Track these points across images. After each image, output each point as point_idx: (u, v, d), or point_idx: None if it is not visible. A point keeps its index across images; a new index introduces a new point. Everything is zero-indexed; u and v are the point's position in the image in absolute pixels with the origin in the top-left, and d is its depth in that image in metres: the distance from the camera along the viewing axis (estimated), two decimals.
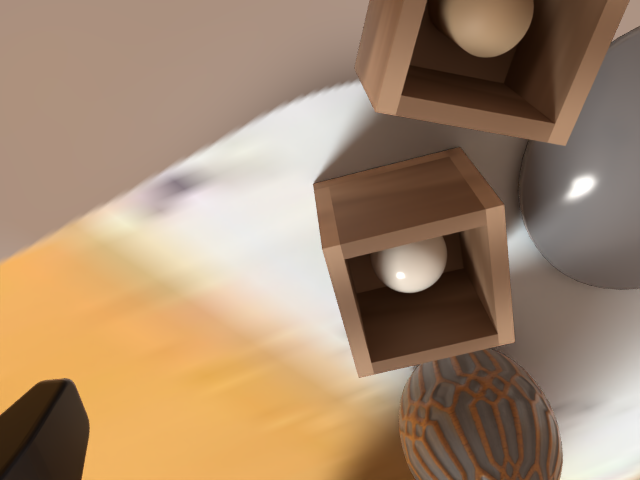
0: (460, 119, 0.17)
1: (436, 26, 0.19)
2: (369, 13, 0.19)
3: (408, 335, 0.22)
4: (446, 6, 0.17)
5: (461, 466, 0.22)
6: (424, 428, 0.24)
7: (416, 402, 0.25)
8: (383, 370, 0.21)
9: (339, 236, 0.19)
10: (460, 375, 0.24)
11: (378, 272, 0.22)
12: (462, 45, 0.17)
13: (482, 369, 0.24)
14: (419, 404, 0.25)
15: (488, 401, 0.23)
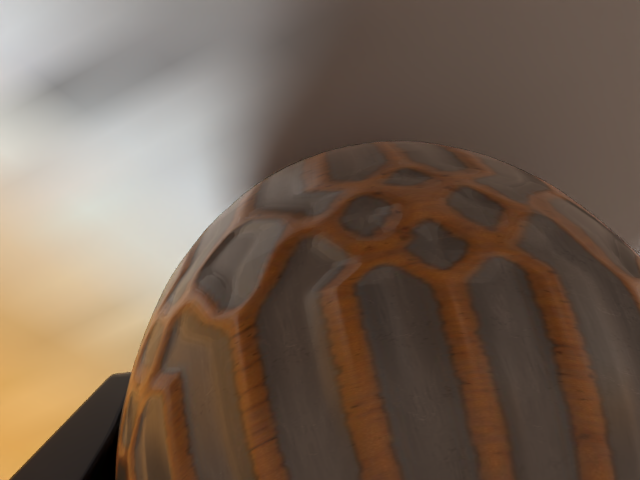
0: None
1: None
2: None
3: None
4: None
5: None
6: (140, 410, 0.05)
7: (156, 313, 0.06)
8: None
9: None
10: (319, 189, 0.06)
11: None
12: None
13: (411, 166, 0.06)
14: (160, 316, 0.06)
15: (418, 270, 0.04)
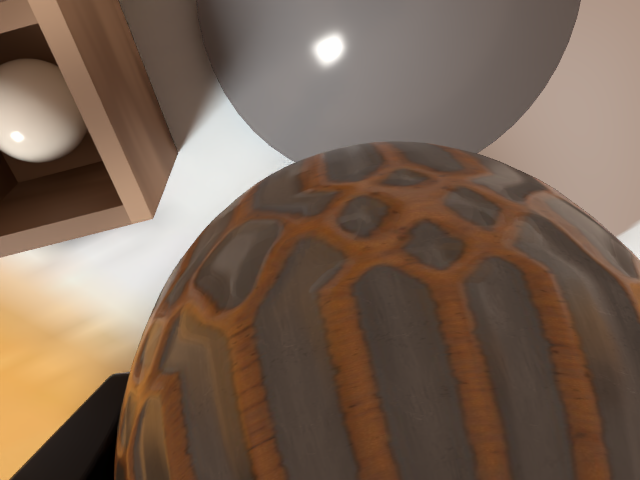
0: None
1: None
2: None
3: (26, 216, 0.16)
4: None
5: None
6: (139, 410, 0.05)
7: (154, 314, 0.06)
8: None
9: None
10: (316, 189, 0.06)
11: None
12: None
13: (409, 167, 0.06)
14: (158, 316, 0.06)
15: (414, 269, 0.05)
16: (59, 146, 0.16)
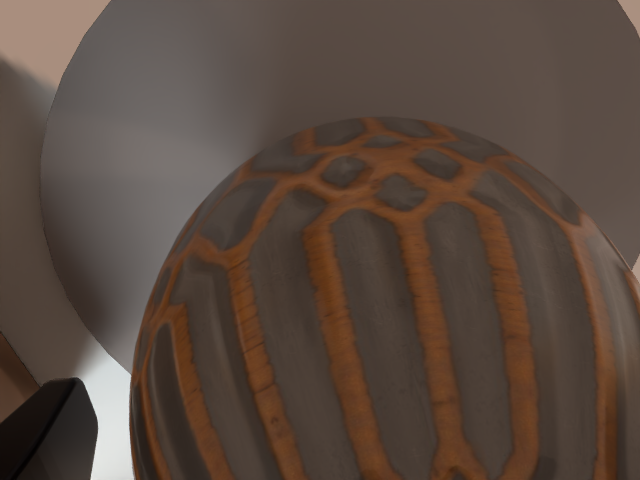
0: None
1: None
2: None
3: None
4: None
5: None
6: (152, 338, 0.06)
7: (165, 263, 0.07)
8: None
9: None
10: (305, 152, 0.07)
11: None
12: None
13: (386, 133, 0.07)
14: (168, 265, 0.07)
15: (384, 211, 0.05)
16: None
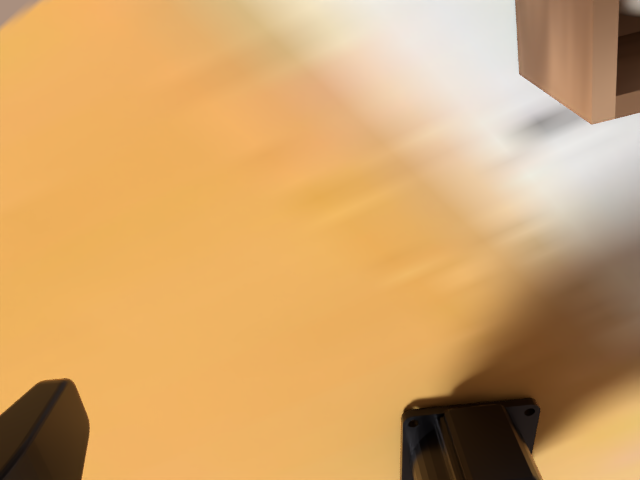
0: None
1: None
2: None
3: None
4: None
5: None
6: None
7: None
8: (629, 112, 0.14)
9: None
10: None
11: None
12: None
13: None
14: None
15: None
16: None
